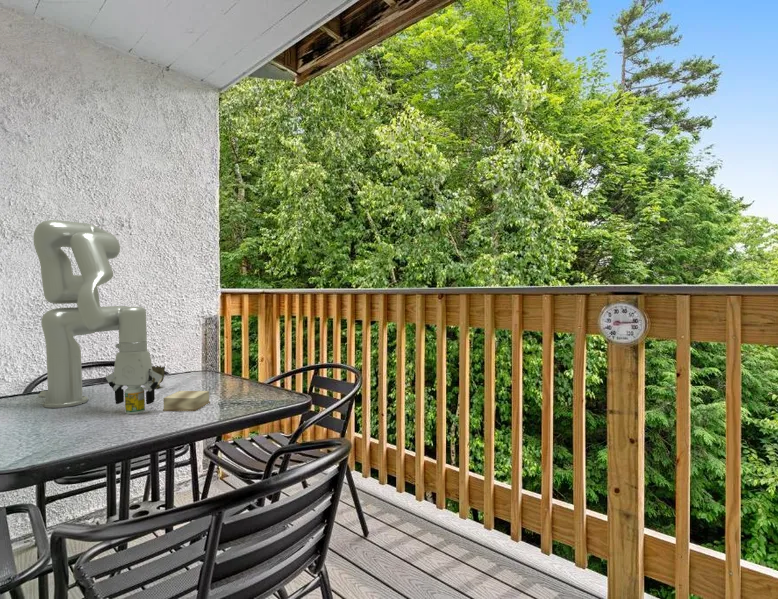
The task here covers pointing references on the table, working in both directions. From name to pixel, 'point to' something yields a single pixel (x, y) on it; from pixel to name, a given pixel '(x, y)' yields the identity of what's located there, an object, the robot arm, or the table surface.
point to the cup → (160, 371)
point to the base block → (186, 401)
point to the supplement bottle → (134, 400)
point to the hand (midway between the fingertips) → (135, 403)
